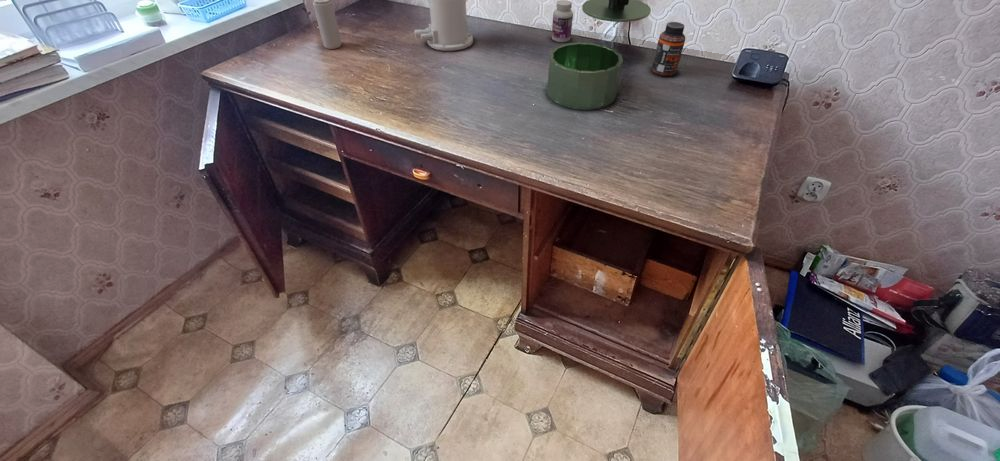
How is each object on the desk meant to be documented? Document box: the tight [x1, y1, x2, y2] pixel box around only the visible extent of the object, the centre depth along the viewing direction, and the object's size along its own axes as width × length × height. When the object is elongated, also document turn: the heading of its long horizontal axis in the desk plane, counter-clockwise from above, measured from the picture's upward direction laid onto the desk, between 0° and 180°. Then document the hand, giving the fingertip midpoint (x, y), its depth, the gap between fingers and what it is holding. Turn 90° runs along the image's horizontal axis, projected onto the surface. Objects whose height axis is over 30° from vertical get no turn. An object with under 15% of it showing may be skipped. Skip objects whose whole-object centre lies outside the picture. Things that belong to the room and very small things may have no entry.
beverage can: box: [312, 0, 343, 50], centre depth 123 cm, size 5×5×12 cm
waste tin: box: [546, 42, 624, 111], centre depth 104 cm, size 16×16×8 cm
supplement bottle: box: [651, 21, 686, 77], centre depth 111 cm, size 6×6×11 cm
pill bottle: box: [551, 0, 574, 43], centre depth 127 cm, size 5×5×10 cm
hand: (617, 1), depth 114 cm, fingers closed on tin lid, 4 cm apart
